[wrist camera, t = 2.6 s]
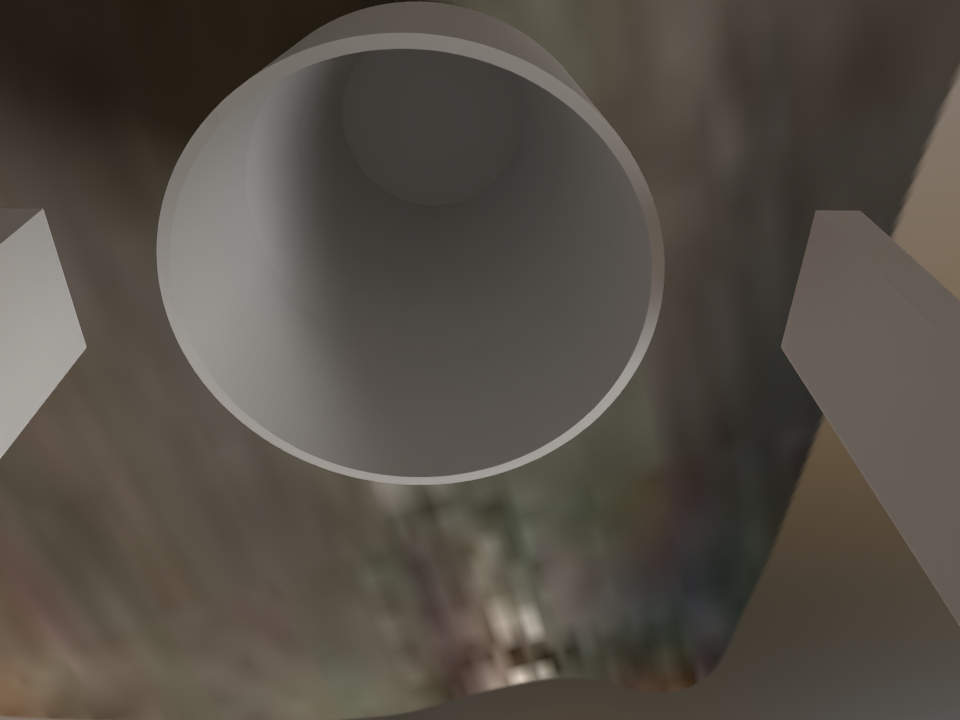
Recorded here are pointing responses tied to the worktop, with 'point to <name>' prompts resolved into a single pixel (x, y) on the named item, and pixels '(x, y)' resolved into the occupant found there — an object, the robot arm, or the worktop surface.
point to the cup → (411, 249)
